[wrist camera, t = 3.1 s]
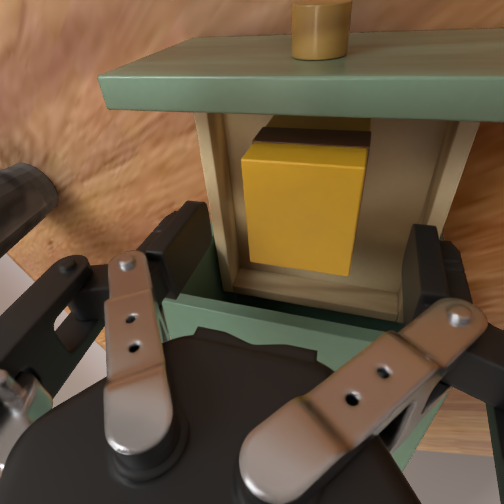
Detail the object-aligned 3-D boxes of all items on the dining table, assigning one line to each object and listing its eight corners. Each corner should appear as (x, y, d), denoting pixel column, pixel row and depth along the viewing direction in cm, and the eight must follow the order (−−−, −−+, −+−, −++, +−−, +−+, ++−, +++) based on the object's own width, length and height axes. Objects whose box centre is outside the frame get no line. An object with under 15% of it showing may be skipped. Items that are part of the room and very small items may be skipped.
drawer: (187, 0, 17) (78, 22, 11) (535, -22, 13) (655, -6, 7) (225, 259, 28) (180, 340, 22) (424, 289, 24) (435, 399, 18)
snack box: (282, 99, 18) (238, 157, 12) (375, 101, 16) (368, 166, 11) (283, 188, 21) (248, 263, 16) (360, 195, 20) (350, 279, 14)
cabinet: (220, 207, 26) (157, 299, 19) (442, 232, 22) (467, 361, 15) (239, 339, 36) (202, 430, 29) (393, 372, 32) (393, 488, 25)
